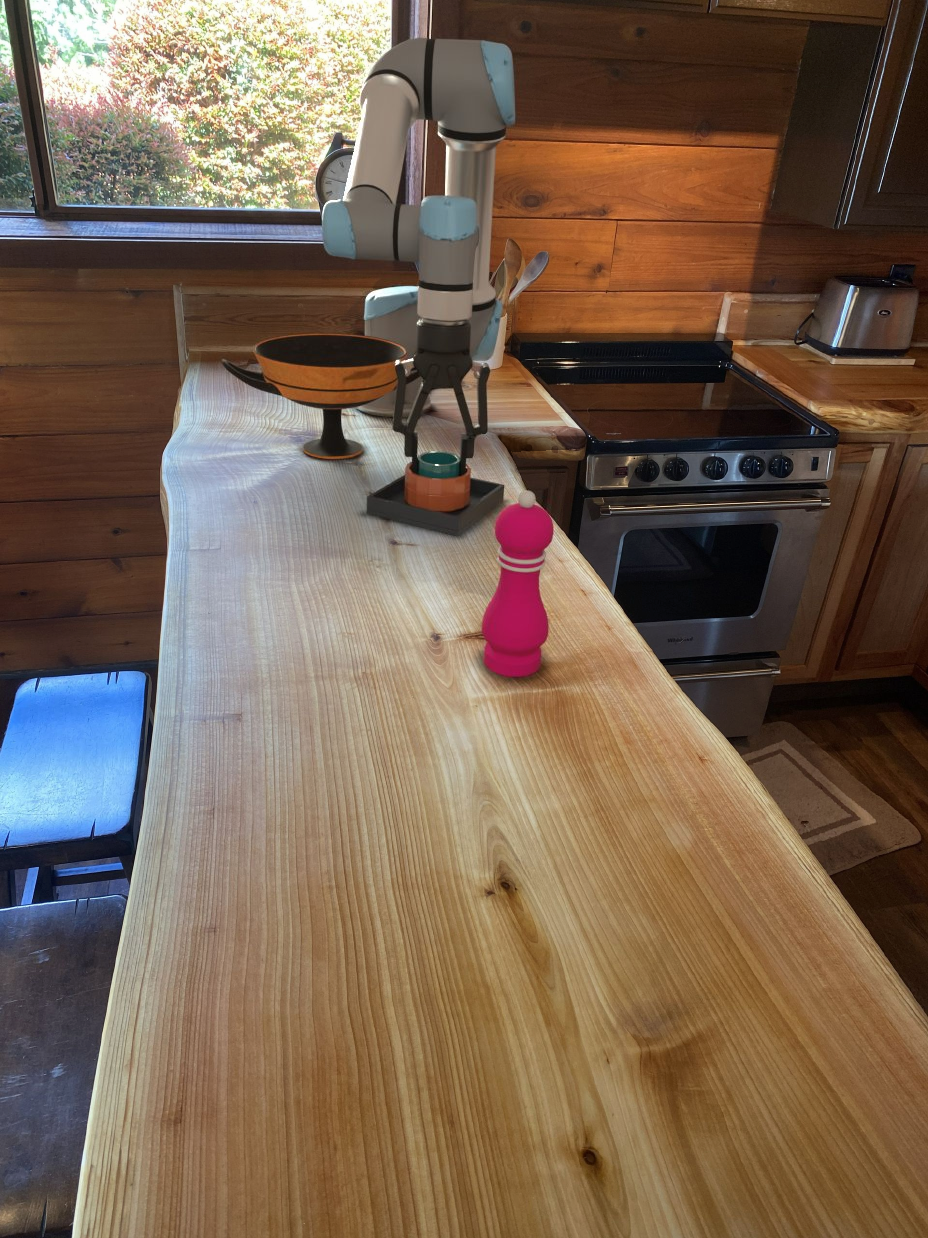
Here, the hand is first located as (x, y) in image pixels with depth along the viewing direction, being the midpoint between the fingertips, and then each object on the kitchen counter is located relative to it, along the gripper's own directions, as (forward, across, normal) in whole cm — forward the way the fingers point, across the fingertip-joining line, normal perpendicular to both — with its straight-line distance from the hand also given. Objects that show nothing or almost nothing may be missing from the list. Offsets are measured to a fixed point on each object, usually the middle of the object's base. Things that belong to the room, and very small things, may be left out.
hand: (438, 477), depth 136 cm
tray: (+5, 0, 0) cm, 5 cm away
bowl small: (+1, 0, 0) cm, 1 cm away
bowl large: (+4, 0, 0) cm, 4 cm away
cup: (+5, +17, -26) cm, 32 cm away
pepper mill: (+5, -6, +45) cm, 46 cm away
